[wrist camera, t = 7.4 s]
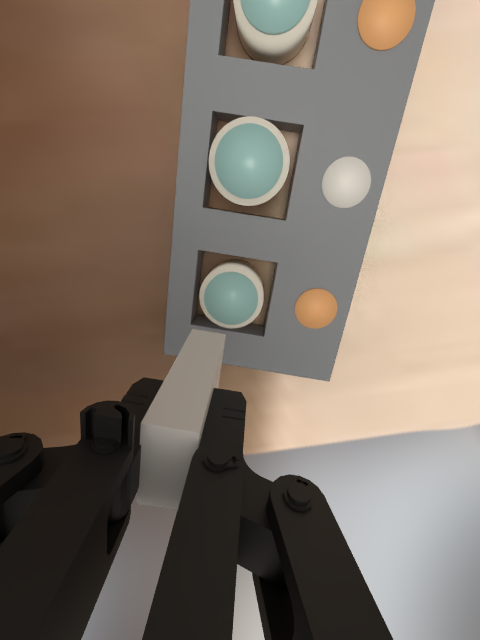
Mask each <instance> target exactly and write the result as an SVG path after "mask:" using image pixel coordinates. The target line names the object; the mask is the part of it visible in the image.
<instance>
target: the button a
mask: <svg viewBox="0 0 480 640" xmlns="http://www.w3.org/2000/svg"><path fill="white" fill-rule="evenodd" d="M263 298H264V287H263V280H262V277H261V275H260V273H259V272H258V270H257V269H256V268H255V267H254V266H253V265H251V264H250V263H248V262H246V261H243V260H239V259H230V260H226V261H223V262H221V263H219V264H218V265H216V266H215V267H214V268H213V269H212V271H211V272H210V273H209V274H208V276H207V277H206V278H205V280H204V281H203V283H202V285H201V288H200V293H199V299H200V305H201V308H202V310H203V312H204V313H205V315H206V316H207V317H208V318H209V319H210V320H211V321H212V322H213V323H215V324H217V325H219V326H221V327H225V328H240V327H243V326H246V325H248V324H249V323H251V322H252V321H253V320H254V319H255V318H256V317H257V316H258V315H259V313H260V311H261V309H262V306H263Z"/></svg>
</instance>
